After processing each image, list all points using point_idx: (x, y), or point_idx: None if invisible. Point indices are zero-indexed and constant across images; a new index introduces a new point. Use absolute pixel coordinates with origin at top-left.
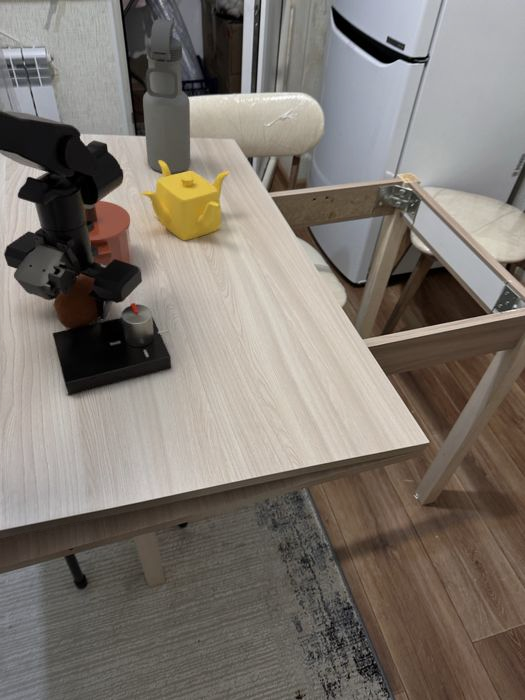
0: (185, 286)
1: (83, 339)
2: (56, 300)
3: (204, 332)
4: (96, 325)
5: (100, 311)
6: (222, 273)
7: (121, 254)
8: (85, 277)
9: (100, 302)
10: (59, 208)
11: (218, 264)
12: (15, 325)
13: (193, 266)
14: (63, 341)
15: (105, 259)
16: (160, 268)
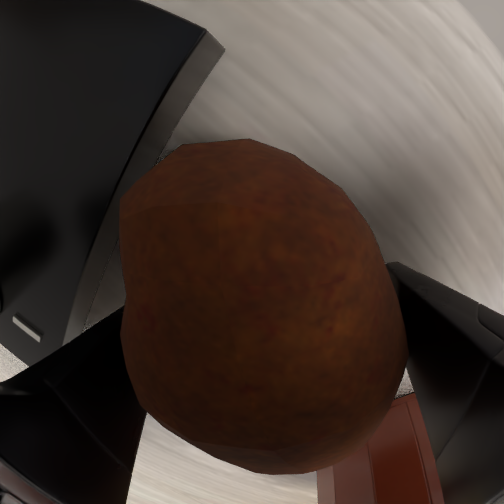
0: (152, 455)
1: (39, 125)
2: (312, 237)
3: (9, 362)
4: (76, 240)
5: (106, 323)
6: (141, 479)
7: (318, 501)
8: (296, 473)
9: (39, 370)
10: None
11: (167, 490)
12: (478, 69)
13: (195, 485)
14: (98, 36)
15: (344, 488)
16: (245, 475)
